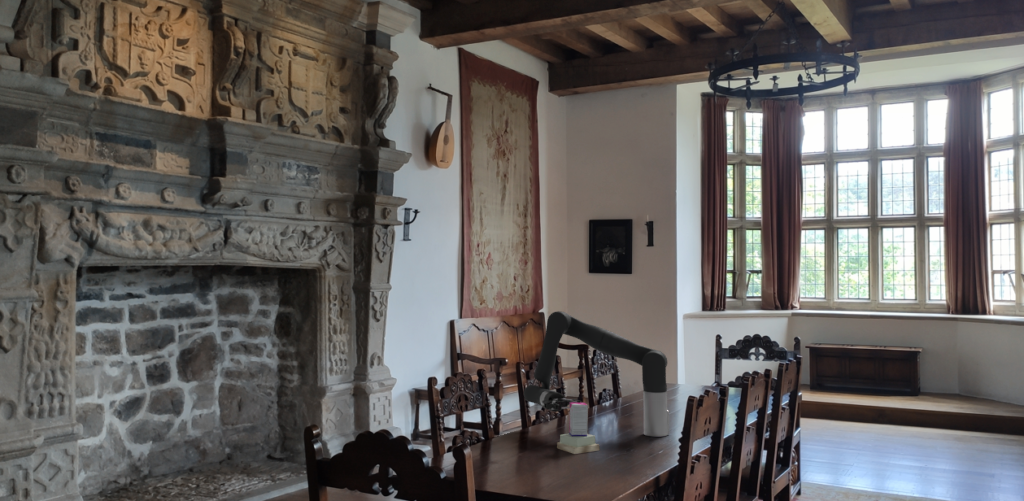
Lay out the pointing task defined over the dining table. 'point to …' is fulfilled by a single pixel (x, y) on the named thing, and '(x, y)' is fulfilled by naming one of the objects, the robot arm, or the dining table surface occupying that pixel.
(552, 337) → the robot arm
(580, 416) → the supplement box
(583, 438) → the sage top block
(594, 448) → the birch base block
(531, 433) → the dining table surface
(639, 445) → the dining table surface
